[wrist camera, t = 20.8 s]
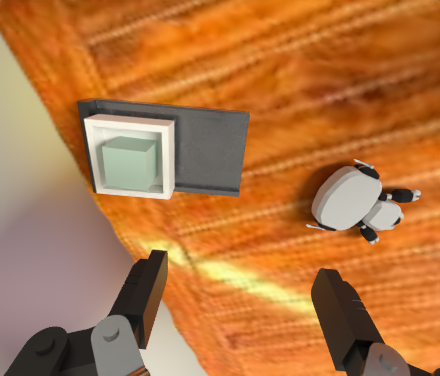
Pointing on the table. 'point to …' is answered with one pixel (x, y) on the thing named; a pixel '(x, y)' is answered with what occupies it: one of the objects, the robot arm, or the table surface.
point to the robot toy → (358, 202)
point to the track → (188, 142)
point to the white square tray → (137, 128)
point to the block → (130, 162)
